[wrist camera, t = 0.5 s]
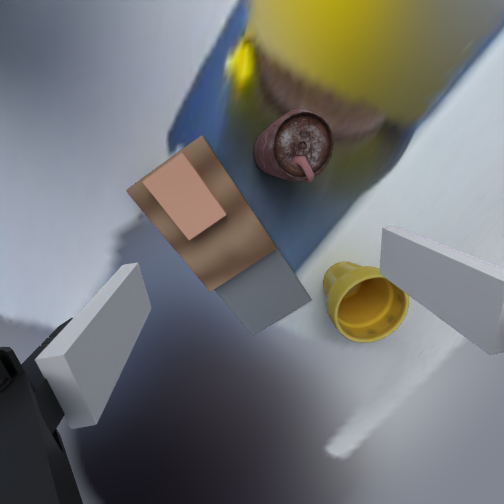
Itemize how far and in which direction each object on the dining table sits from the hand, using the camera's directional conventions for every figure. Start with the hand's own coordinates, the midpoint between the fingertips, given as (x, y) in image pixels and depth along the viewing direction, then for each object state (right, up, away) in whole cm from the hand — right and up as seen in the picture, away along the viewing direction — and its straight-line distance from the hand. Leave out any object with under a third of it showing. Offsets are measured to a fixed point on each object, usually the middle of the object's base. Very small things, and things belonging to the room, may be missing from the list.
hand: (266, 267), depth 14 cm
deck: (-7, +6, +24) cm, 25 cm away
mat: (+1, -6, +29) cm, 29 cm away
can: (+2, +15, +22) cm, 26 cm away
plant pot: (+14, -4, +29) cm, 33 cm away
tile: (-9, +8, +20) cm, 24 cm away
